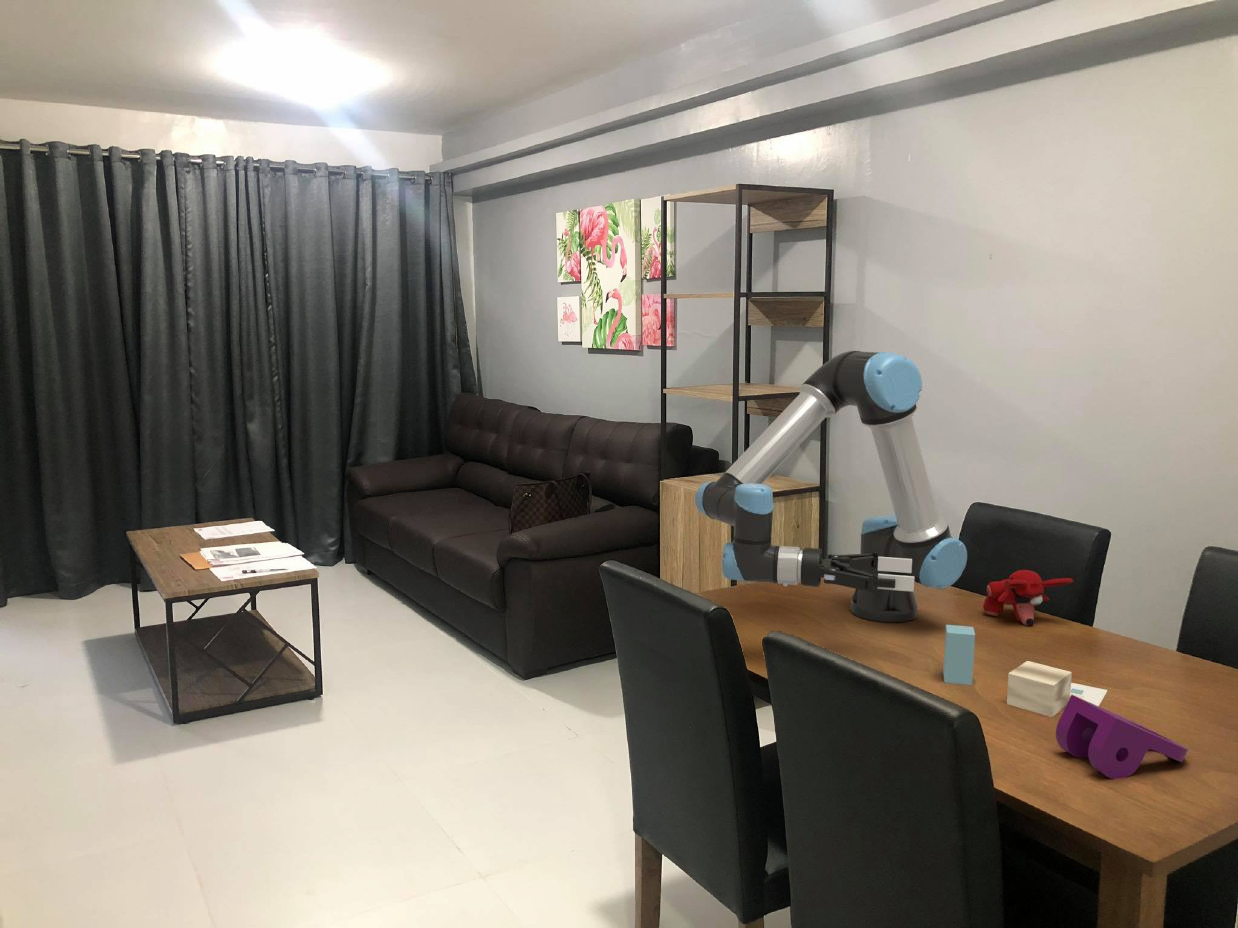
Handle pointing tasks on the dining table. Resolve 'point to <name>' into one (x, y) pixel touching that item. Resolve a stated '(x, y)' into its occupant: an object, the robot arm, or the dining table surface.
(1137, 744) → the mounting bracket
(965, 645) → the teal brick
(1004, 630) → the dining table surface
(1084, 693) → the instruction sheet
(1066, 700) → the birch base brick
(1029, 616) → the toy
